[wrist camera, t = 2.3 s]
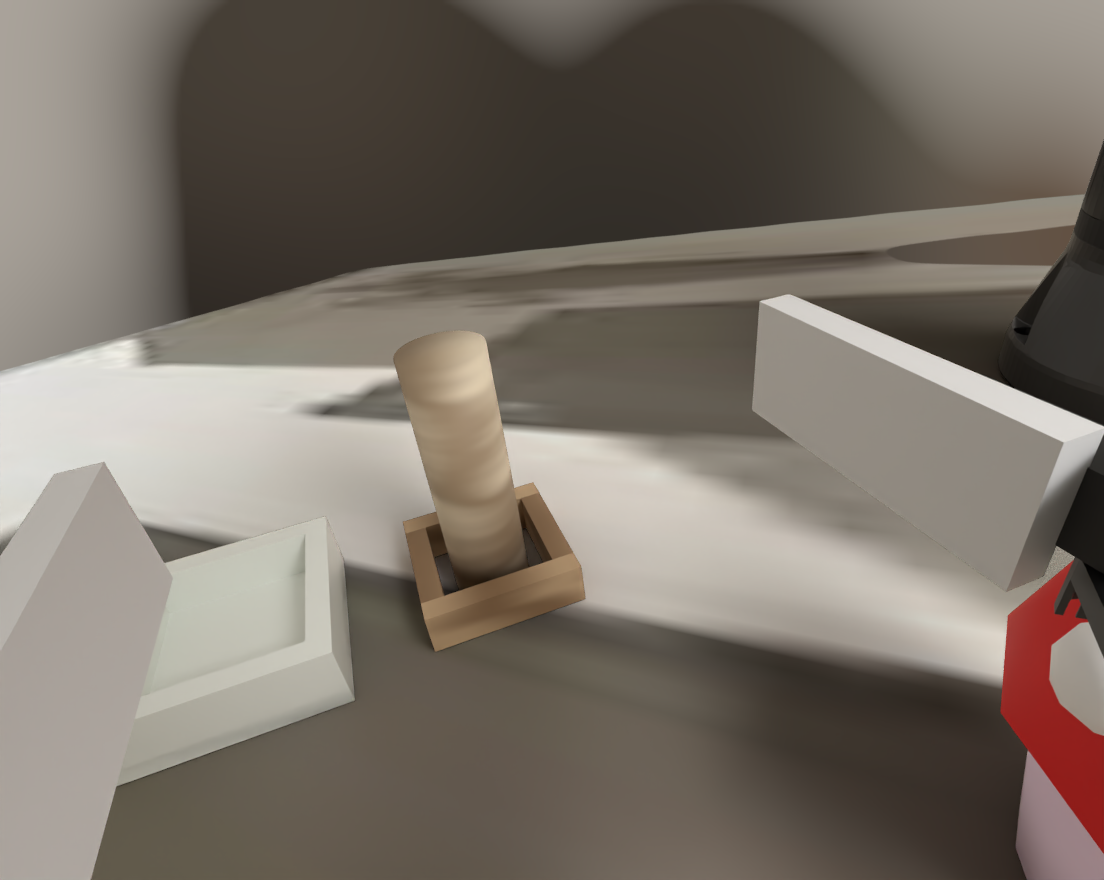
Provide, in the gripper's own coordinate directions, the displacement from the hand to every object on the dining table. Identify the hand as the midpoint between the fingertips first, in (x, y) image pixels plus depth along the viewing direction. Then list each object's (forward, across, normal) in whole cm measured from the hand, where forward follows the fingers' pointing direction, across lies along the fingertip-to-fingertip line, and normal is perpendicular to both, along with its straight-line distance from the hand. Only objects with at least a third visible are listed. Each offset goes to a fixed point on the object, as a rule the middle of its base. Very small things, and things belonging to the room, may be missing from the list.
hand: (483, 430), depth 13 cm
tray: (+12, -11, -15) cm, 22 cm away
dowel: (+12, +1, -15) cm, 19 cm away
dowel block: (+12, +1, -15) cm, 19 cm away
